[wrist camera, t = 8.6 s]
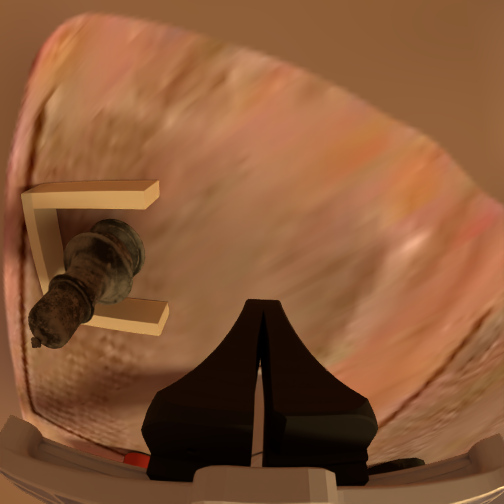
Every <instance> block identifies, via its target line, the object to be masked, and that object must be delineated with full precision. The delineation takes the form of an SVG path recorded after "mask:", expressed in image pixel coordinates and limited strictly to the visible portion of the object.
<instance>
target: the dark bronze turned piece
mask: <svg viewBox="0 0 504 504" xmlns="http://www.w3.org/2000/svg"><path fill="white" fill-rule="evenodd" d="M144 260H145V250H144V246H143V243H142V241H141V239H140V237H139V235H138V234H137V233H136V232H135V230H134V229H133V228H132V227H130V226H129V225H127V224H126V223H124V222H122V221H119V220H114V219H107V220H102V221H100V222H99V223H97V224H96V225H95V226H94V227H93V228H92V229H91V231H90V232H86V233H80V234H78V235H76V236H74V237H73V238H72V239H71V240H70V241H69V242H68V243H67V245H66V248H65V250H64V257H63V262H64V269H65V273H64V274H59V275H56V276H54V277H53V278H52V279H51V280H50V282H49V286H48V292H47V293H46V294H45V295H44V296H43V297H42V298H41V299H40V300H39V301H38V302H37V303H36V304H35V305H34V307H33V308H32V309H31V311H30V313H29V316H28V321H29V327H30V330H31V332H32V334H33V335H34V337H32V338H31V341H32V342H31V343H32V347H33V348H37V347H39V348H40V347H41V344H42V345H44V346H46V347H48V348H52V349H57V348H62V347H63V346H64V345H65V344H66V343H67V342H68V341H69V339H70V338H71V337H72V335H73V334H74V332H75V331H76V330H77V328H78V327H79V325H80V324H84V323H87V322H89V321H90V320H91V319H92V317H93V315H94V310H95V305H96V304H101V305H114V304H117V303H120V302H121V301H123V300H124V299H125V298H126V297H127V296H128V294H129V292H130V291H131V288H132V283H133V277H134V276H135V275H136V274H137V273H139V271H140V270H141V268H142V267H143V264H144Z"/></svg>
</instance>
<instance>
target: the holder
mask: <svg viewBox="0 0 504 504" xmlns="http://www.w3.org/2000/svg"><path fill="white" fill-rule="evenodd" d="M158 197H159V180H116V181H81V182H59V183H43V184H40V185H38V186H36V187H34V188H32V189H30V190H28V191H26V192H23V193H21V198H22V205H23V211H24V216H25V222H26V227H27V232H28V237H29V241H30V246H31V250H32V254H33V259H34V263H35V266H36V270H37V274H38V278H39V281H40V285H41V288H42V291H43V295H45V294H46V293H47V292H48V286H49V282H50V280H51V279H52V278H53V277H54V276H56V275H59V274H64V273H65V269H64V262H63V257H64V250H63V245H62V240H61V235H60V229H59V223H58V217H57V210H56V208H94V209H146V208H147V207H148V206H149V205H150V204H152V203H153V202H154V201H155V200H156V199H157V198H158ZM168 315H169V308H168V302H161V301H151V300H142V299H133V298H125V299H124V300H123V301H121V302H120V303H117V304H114V305H101V304H96V305H95V310H94V315H93V317H92V319H91V320H90V321H89V322H87V323H84V325H90V326H96V327H102V328H108V329H114V330H120V331H127V332H134V333H141V334H148V335H156V336H160V334H161V332H162V329H163V327H164V325H165V322H166V320H167V318H168Z"/></svg>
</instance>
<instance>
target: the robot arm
mask: <svg viewBox="0 0 504 504" xmlns="http://www.w3.org/2000/svg"><path fill="white" fill-rule="evenodd" d="M260 360H261V367H259V364H260ZM377 430H378V425H377V420H376V417H375V414H374V412H373V409H372V407H371V405H370V403H369V401H368V399H367V398H365V397H364V396H362V395H360V394H359V393H357V392H355V391H354V390H352V389H350V388H349V387H347V386H346V385H345V384H343V383H342V382H341V381H339V380H338V379H337V378H335V377H334V376H333V375H332V374H331V373H330V372H329V371H328V370H327V369H325V368H324V367H323V366H322V365H321V364H320V363H319V362H318V361H317V360H316V359H315V357H314V356H313V355H312V354H311V353H310V352H309V350H308V349H307V348H306V347H305V345H304V344H303V343H302V341H301V340H300V338H299V337H298V335H297V334H296V332H295V331H294V329H293V327H292V326H291V324H290V322H289V320H288V318H287V316H286V314H285V312H284V310H283V308H282V305H281V302H280V301H279V300H260V299H248V300H247V301H246V302H245V305H244V308H243V310H242V312H241V314H240V316H239V317H238V319H237V321H236V322H235V324H234V326H233V327H232V329H231V330H230V331H229V333H228V334H227V335H226V337H225V338H224V340H223V341H222V342H221V343H220V344H219V346H218V347H217V348H216V349H215V350H214V351H213V352H212V353H211V354H210V355H209V356H208V357H207V358H206V359H205V360H204V361H203V362H202V363H201V364H200V365H198V366H197V367H196V368H195V369H193V370H192V371H191V372H189V373H188V374H187V375H185V376H184V377H183V378H181V379H180V380H178V381H177V382H175V383H173V384H171V385H170V386H168V387H166V388H164V389H163V390H161V391H159V392H157V394H156V395H155V397H154V399H153V400H152V402H151V404H150V406H149V408H148V410H147V413H146V416H145V419H144V422H143V425H142V429H141V431H142V436H143V438H144V440H145V442H146V444H147V446H148V448H149V450H150V453H151V456H150V460H149V463H148V467H147V468H142V467H138V466H133V465H129V464H125V463H121V462H117V461H113V460H110V459H106V458H103V457H99V456H96V455H93V454H89V453H86V452H83V451H80V450H77V449H74V448H71V447H68V446H66V445H63V444H60V443H57V442H55V441H52V440H50V439H47V438H45V437H43V436H42V434H41V433H40V431H39V430H38V429H37V428H36V427H35V426H34V425H32V424H31V423H29V422H27V421H24V420H22V419H19V418H17V417H15V416H13V415H10V416H9V418H8V420H7V422H6V423H5V425H4V427H3V428H2V430H1V432H0V474H2V475H3V476H4V477H5V478H6V479H7V480H9V481H10V482H11V483H12V484H13V485H14V486H16V487H17V488H18V489H20V490H22V491H24V492H25V493H27V494H29V495H31V496H33V497H35V498H36V499H38V500H40V501H42V502H44V503H46V504H488V503H489V502H491V501H492V500H494V499H495V498H496V497H498V496H499V495H501V494H502V493H503V492H504V440H503V438H502V436H501V434H496V435H494V436H491V437H488V438H485V439H483V440H480V441H479V442H477V443H476V444H475V445H473V446H472V447H471V449H470V450H469V451H468V453H465V454H462V455H458V456H455V457H452V458H448V459H445V460H441V461H438V462H434V463H430V464H426V465H422V466H418V467H413V468H409V469H404V470H399V471H394V472H388V473H383V474H376V475H370V476H369V475H368V470H367V465H366V461H367V460H368V453H367V448H368V446H369V445H370V443H371V442H372V440H373V439H374V437H375V435H376V433H377Z"/></svg>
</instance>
